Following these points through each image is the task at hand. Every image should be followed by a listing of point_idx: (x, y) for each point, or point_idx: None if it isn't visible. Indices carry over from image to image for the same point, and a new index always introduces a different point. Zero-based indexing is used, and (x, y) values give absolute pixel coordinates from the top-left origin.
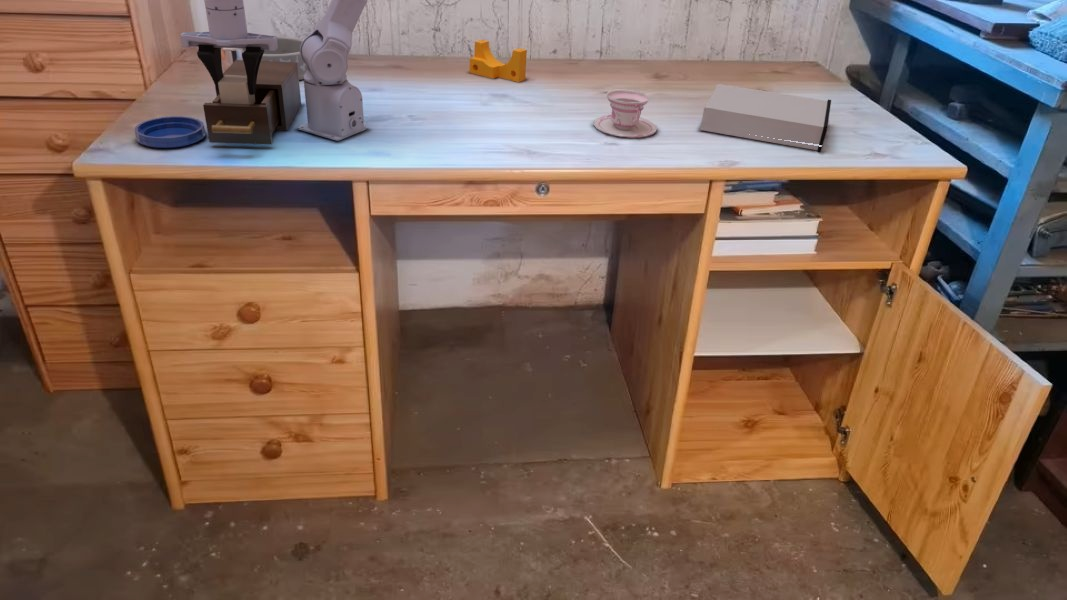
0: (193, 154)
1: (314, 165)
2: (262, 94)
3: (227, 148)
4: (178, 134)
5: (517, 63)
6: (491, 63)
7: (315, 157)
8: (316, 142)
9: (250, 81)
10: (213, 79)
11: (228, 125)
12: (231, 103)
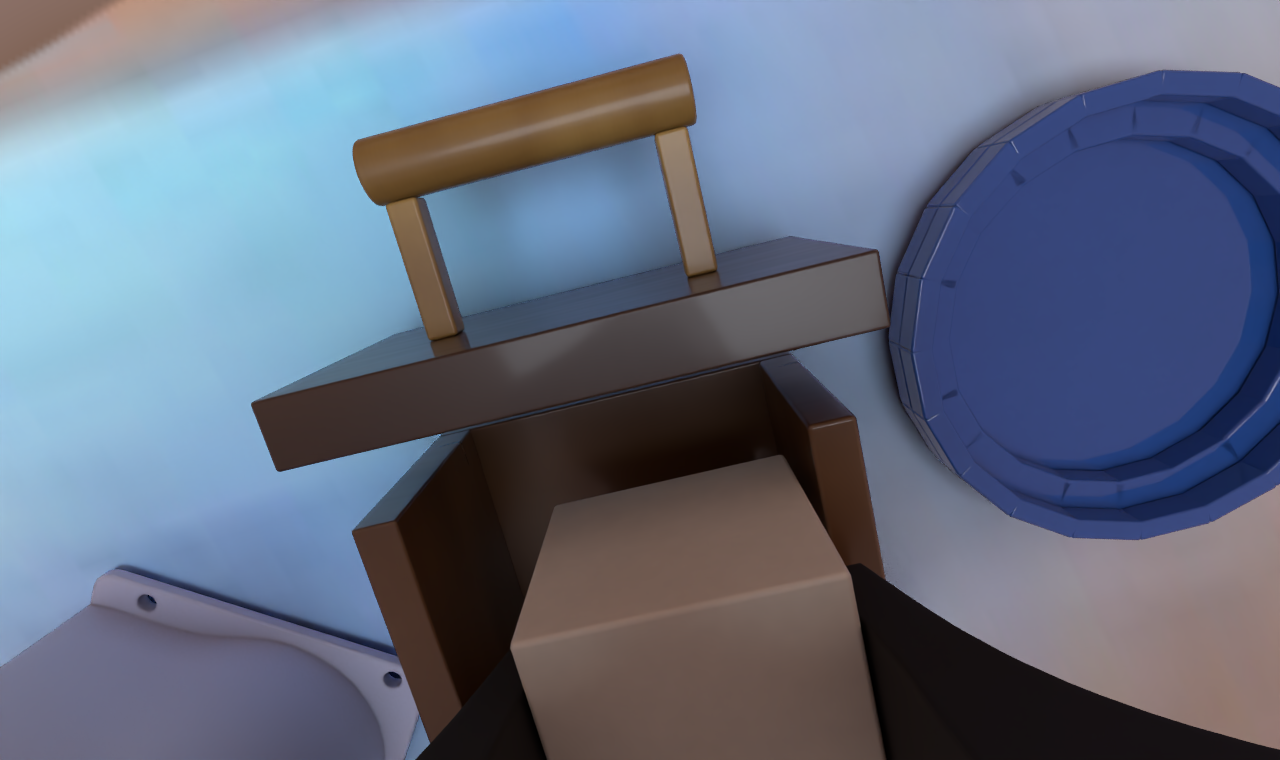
0: (834, 91)
1: (21, 164)
2: None
3: (677, 263)
4: (1071, 352)
5: None
6: None
7: (93, 294)
8: (227, 523)
9: (475, 712)
10: (935, 619)
11: (552, 128)
12: (699, 494)
